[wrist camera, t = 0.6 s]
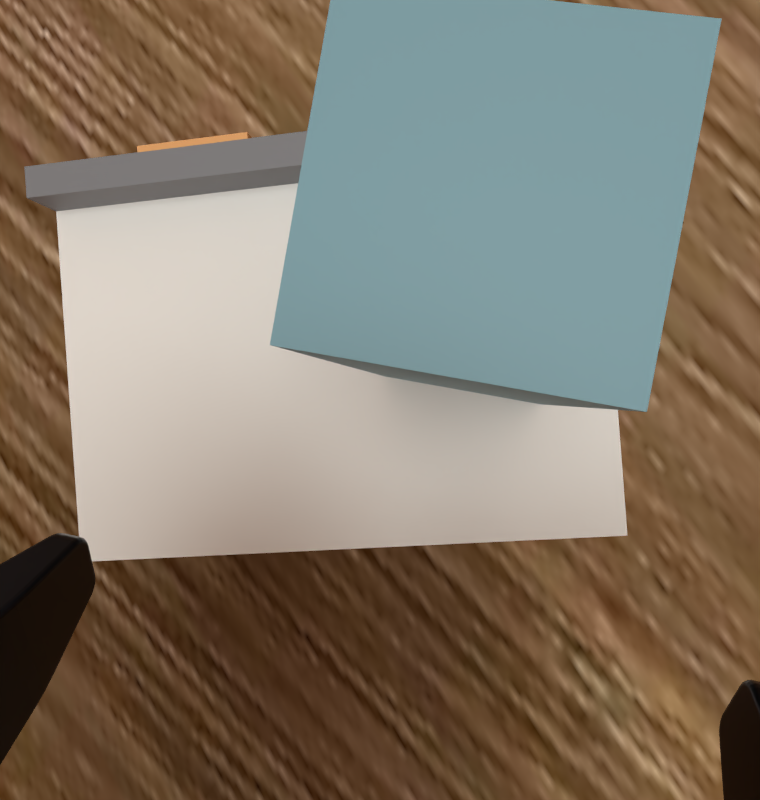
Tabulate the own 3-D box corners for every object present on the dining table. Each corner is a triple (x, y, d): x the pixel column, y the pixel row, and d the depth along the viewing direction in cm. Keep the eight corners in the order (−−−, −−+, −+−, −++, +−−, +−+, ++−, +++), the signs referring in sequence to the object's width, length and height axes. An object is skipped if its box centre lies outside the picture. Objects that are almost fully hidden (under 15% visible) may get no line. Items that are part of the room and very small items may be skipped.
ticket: (268, 165, 24) (247, 141, 21) (167, 177, 24) (137, 155, 22) (267, 157, 24) (247, 132, 21) (167, 169, 24) (137, 146, 22)
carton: (540, 404, 22) (646, 412, 9) (384, 376, 22) (269, 344, 9) (571, 241, 22) (723, 6, 9) (413, 218, 22) (336, -34, 9)
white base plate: (619, 528, 23) (640, 546, 20) (99, 553, 25) (53, 573, 22) (588, 130, 23) (605, 93, 20) (73, 192, 25) (24, 166, 22)
